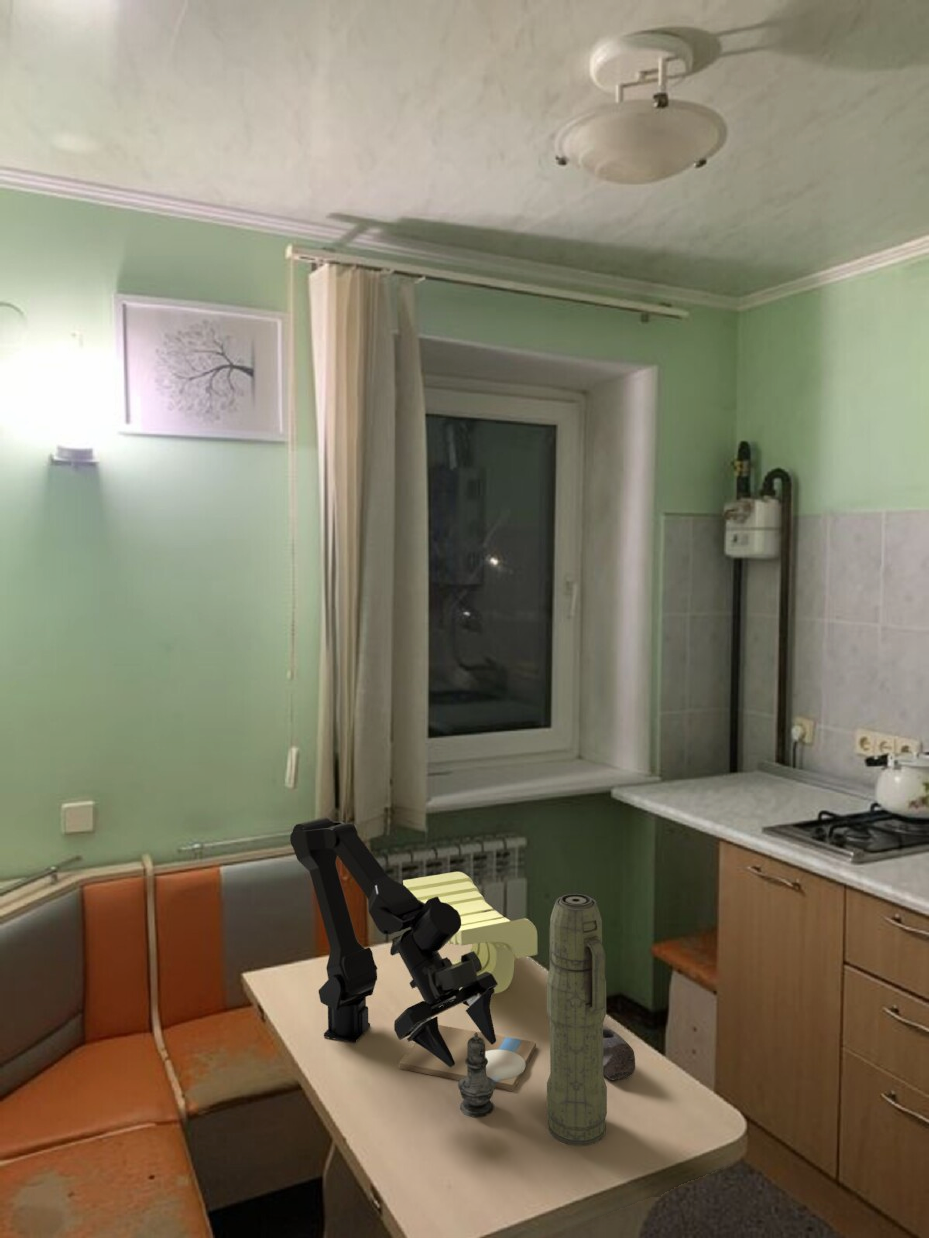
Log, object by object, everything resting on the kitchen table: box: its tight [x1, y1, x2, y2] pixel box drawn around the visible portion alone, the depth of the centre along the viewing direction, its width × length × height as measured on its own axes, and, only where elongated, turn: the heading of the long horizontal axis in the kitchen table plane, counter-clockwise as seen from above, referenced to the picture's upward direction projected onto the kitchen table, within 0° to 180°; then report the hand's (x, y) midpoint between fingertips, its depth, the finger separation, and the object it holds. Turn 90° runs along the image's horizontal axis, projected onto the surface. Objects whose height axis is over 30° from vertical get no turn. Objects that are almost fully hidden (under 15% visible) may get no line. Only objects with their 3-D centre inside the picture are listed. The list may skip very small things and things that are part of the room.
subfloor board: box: [398, 1024, 537, 1091], centre depth 156 cm, size 20×14×1 cm
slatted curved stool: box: [402, 871, 538, 1002], centre depth 184 cm, size 30×16×18 cm, turn 25°
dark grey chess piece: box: [457, 1033, 496, 1118], centre depth 142 cm, size 6×6×12 cm
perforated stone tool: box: [603, 1024, 636, 1081], centre depth 154 cm, size 15×5×7 cm, turn 24°
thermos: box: [546, 893, 608, 1146], centre depth 136 cm, size 9×12×35 cm
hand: (474, 1054), depth 142 cm, fingers open, 9 cm apart
